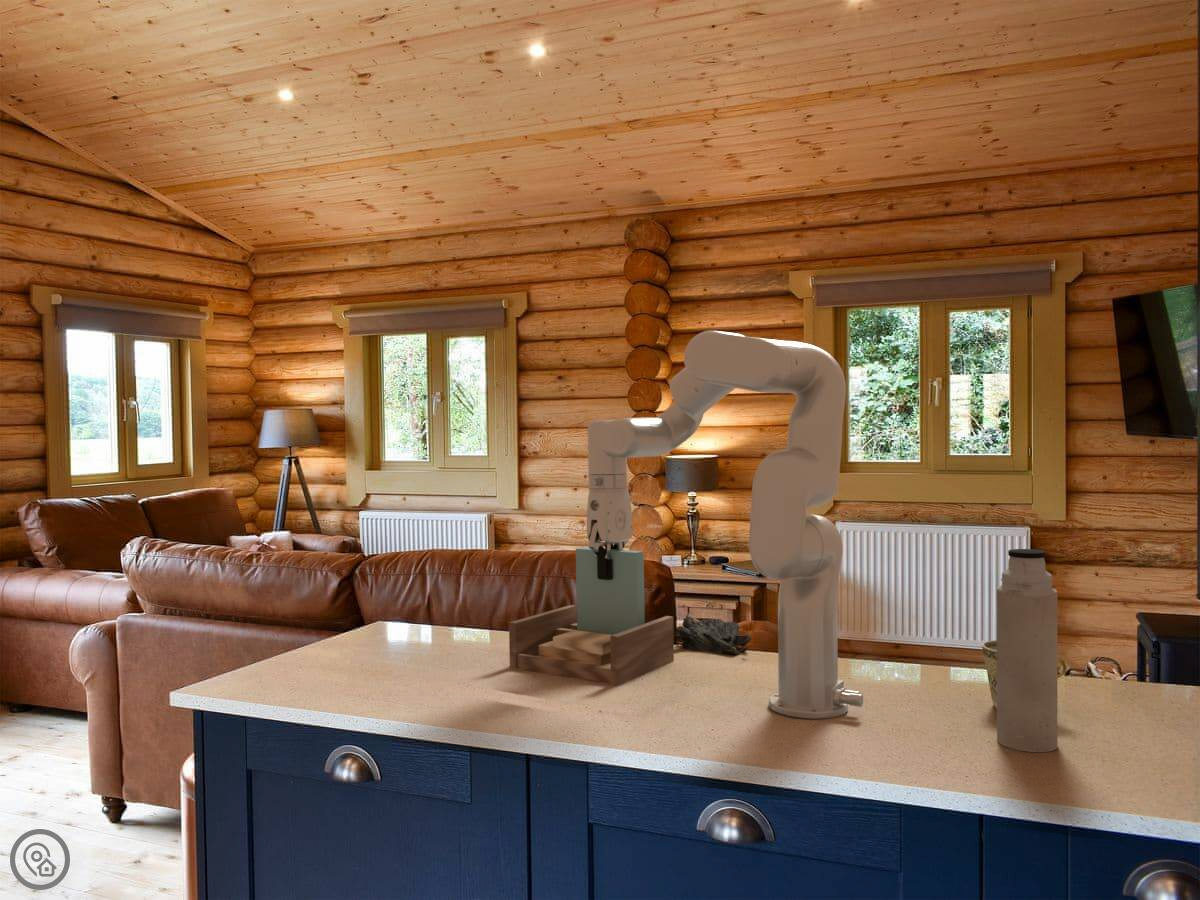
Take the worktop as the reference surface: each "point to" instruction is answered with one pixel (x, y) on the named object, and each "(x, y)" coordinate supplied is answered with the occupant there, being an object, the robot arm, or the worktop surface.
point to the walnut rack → (628, 648)
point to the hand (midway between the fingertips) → (609, 577)
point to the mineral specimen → (711, 636)
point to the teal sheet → (610, 592)
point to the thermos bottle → (1027, 654)
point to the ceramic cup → (991, 667)
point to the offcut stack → (579, 648)
